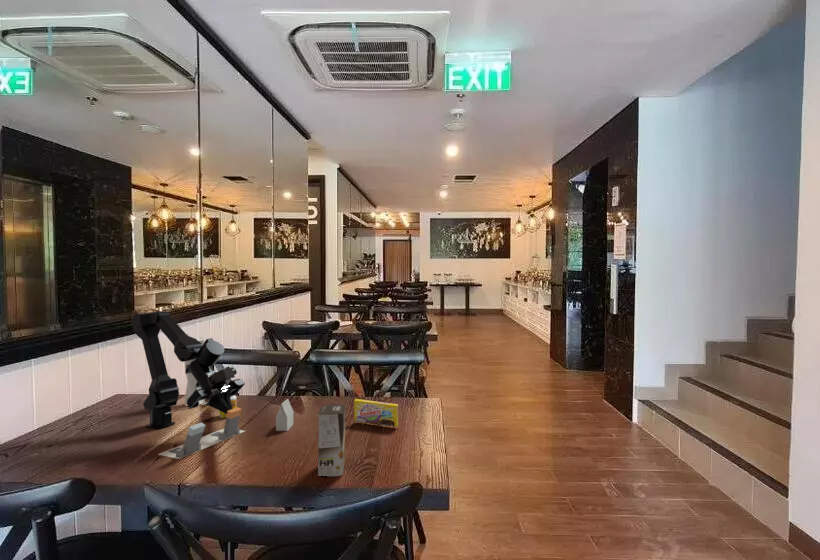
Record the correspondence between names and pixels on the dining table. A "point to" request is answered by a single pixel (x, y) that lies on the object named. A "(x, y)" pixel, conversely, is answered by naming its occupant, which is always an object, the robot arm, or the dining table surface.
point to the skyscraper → (192, 381)
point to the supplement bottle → (234, 405)
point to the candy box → (376, 412)
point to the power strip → (200, 444)
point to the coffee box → (331, 440)
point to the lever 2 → (232, 421)
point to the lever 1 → (193, 438)
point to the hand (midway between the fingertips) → (231, 414)
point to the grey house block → (284, 417)
